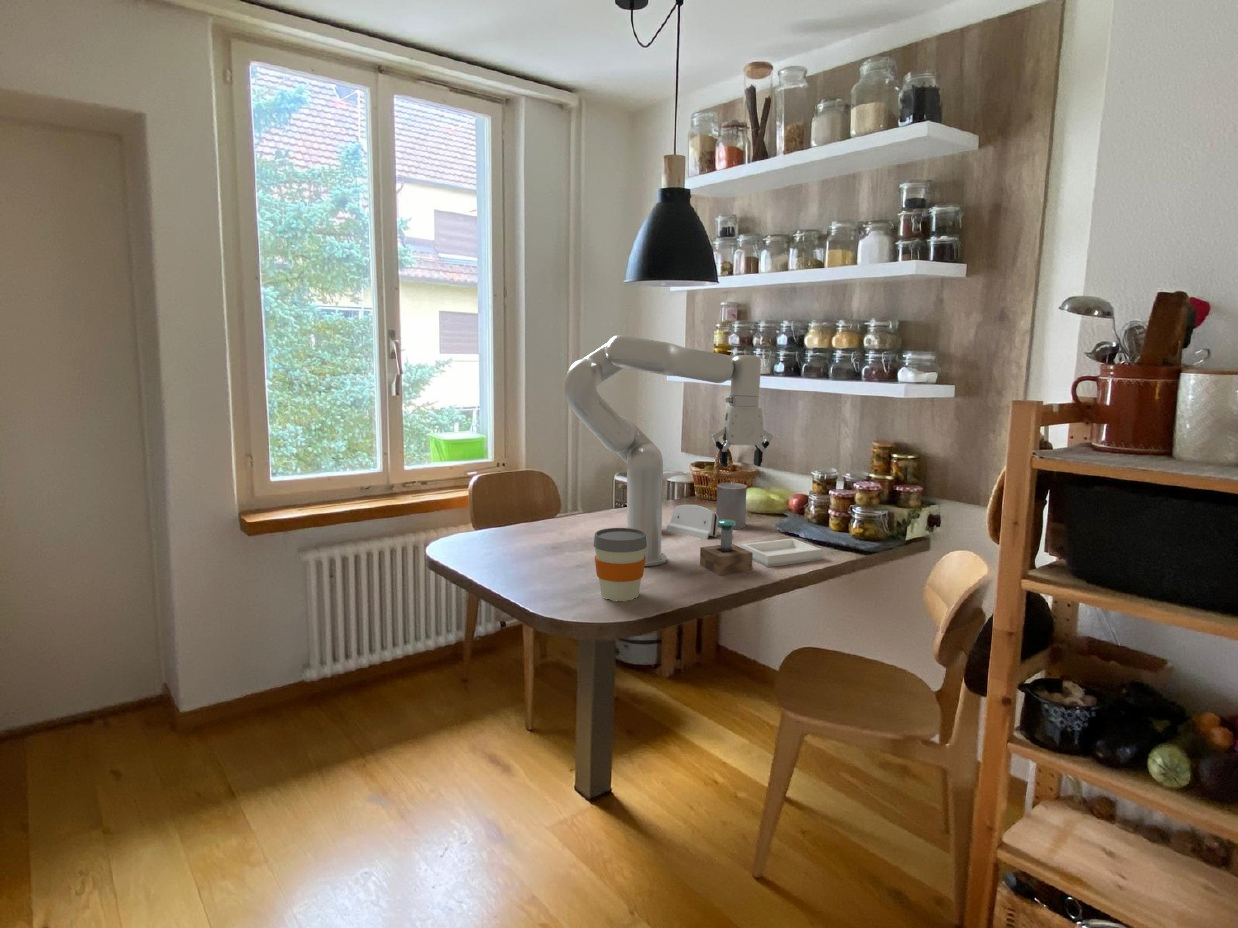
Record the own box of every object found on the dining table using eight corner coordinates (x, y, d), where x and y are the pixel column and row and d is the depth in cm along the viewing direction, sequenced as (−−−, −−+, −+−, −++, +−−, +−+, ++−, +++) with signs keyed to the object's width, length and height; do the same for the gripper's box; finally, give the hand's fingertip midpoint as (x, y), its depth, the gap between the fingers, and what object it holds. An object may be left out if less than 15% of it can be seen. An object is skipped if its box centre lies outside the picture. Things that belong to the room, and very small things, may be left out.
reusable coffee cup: (617, 583, 186) (617, 524, 184) (656, 594, 178) (657, 533, 176) (582, 595, 177) (582, 534, 175) (622, 608, 169) (622, 543, 167)
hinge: (665, 530, 240) (672, 500, 241) (673, 532, 244) (680, 502, 245) (707, 539, 229) (714, 507, 230) (715, 541, 233) (722, 510, 234)
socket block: (719, 575, 193) (719, 556, 193) (699, 565, 202) (700, 547, 202) (751, 571, 197) (752, 552, 197) (731, 561, 206) (731, 543, 206)
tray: (767, 566, 201) (767, 556, 201) (740, 554, 213) (741, 544, 212) (821, 559, 208) (821, 549, 208) (792, 548, 220) (793, 538, 220)
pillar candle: (712, 522, 251) (714, 478, 249) (741, 522, 252) (742, 478, 250) (719, 530, 242) (720, 484, 239) (749, 529, 243) (750, 484, 240)
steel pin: (722, 571, 197) (724, 524, 195) (713, 566, 201) (714, 520, 199) (737, 569, 199) (739, 522, 197) (728, 564, 203) (729, 518, 201)
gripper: (719, 403, 193) (715, 468, 195) (780, 403, 197) (776, 467, 200) (708, 400, 200) (705, 463, 203) (768, 401, 204) (764, 463, 207)
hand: (740, 465), depth 201 cm, fingers open, 9 cm apart
